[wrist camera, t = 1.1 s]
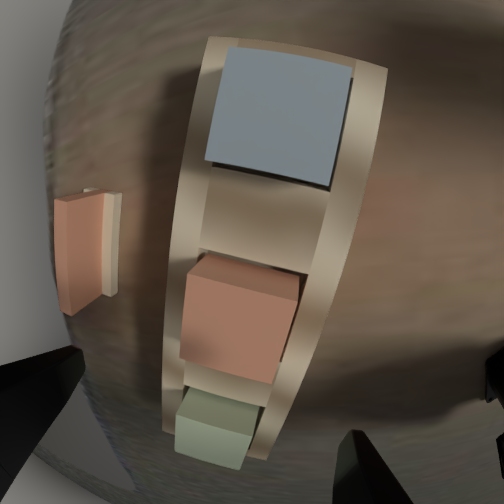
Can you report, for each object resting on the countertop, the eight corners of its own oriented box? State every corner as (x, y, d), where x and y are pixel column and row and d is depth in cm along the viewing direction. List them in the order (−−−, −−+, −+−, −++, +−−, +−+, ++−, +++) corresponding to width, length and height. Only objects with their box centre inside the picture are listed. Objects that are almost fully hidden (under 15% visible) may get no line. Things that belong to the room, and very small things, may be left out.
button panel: (271, 426, 24) (265, 460, 20) (178, 400, 25) (162, 430, 21) (370, 86, 15) (388, 68, 11) (228, 59, 16) (209, 36, 12)
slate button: (323, 181, 14) (328, 186, 11) (223, 159, 14) (204, 159, 11) (342, 85, 12) (352, 67, 9) (243, 67, 13) (228, 46, 10)
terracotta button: (277, 351, 17) (271, 384, 14) (196, 329, 18) (179, 358, 15) (299, 276, 15) (297, 301, 13) (207, 253, 16) (187, 273, 13)
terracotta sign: (117, 292, 22) (81, 320, 17) (90, 281, 22) (52, 306, 18) (122, 193, 20) (77, 204, 15) (91, 187, 20) (45, 197, 15)
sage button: (246, 441, 20) (239, 470, 17) (187, 424, 21) (174, 451, 18) (259, 404, 19) (252, 436, 16) (190, 385, 19) (175, 414, 16)
